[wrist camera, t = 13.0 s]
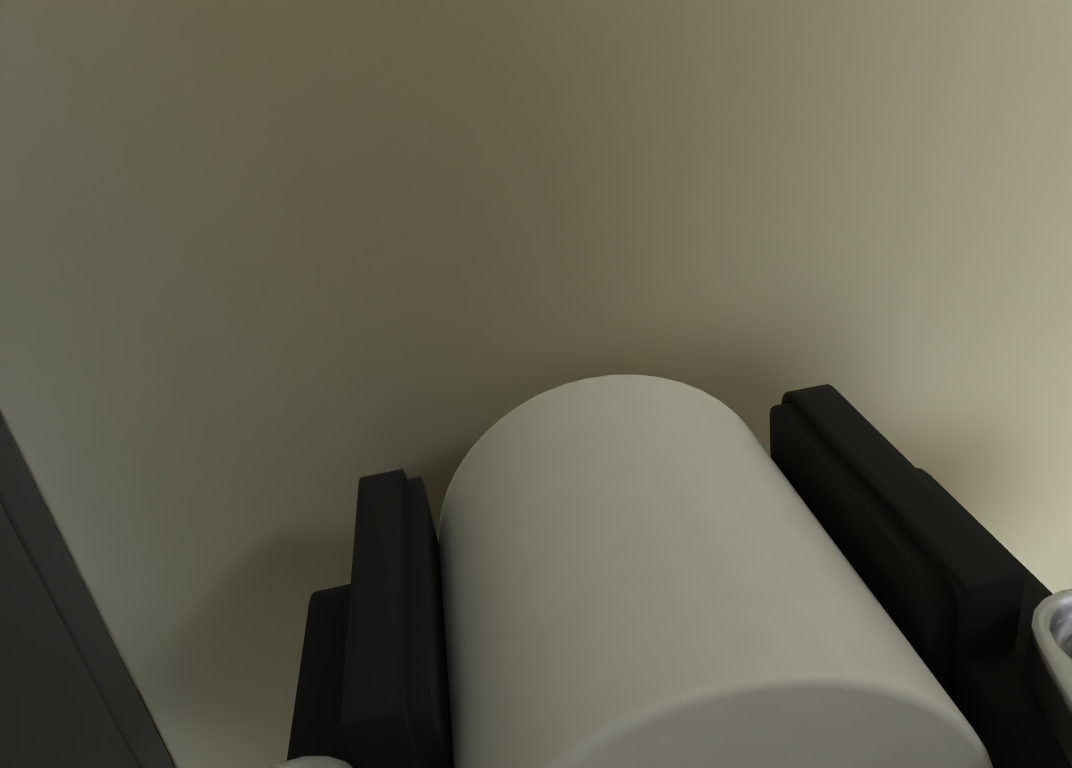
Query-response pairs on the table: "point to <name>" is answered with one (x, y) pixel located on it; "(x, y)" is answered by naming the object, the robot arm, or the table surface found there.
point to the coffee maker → (58, 650)
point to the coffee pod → (665, 602)
